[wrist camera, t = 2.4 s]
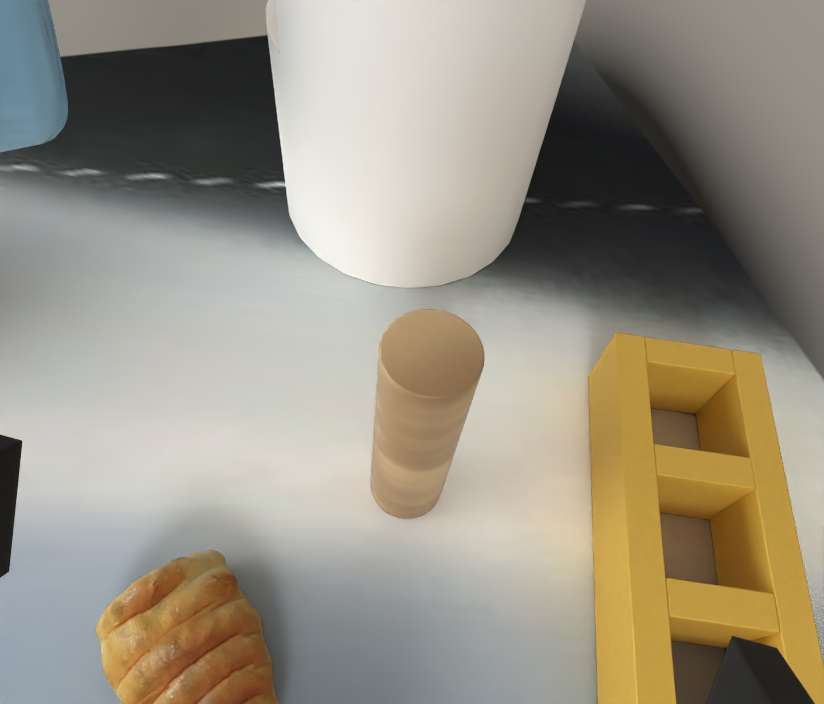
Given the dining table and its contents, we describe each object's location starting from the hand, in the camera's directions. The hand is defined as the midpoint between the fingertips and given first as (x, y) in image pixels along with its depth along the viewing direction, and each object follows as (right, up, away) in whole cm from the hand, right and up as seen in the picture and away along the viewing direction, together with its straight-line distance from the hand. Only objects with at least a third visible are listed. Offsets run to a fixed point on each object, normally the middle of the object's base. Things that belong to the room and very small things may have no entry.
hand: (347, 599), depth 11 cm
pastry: (-9, -10, +19) cm, 23 cm away
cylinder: (+1, +16, +36) cm, 40 cm away
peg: (+1, -3, +24) cm, 25 cm away
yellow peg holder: (+15, -7, +23) cm, 29 cm away
